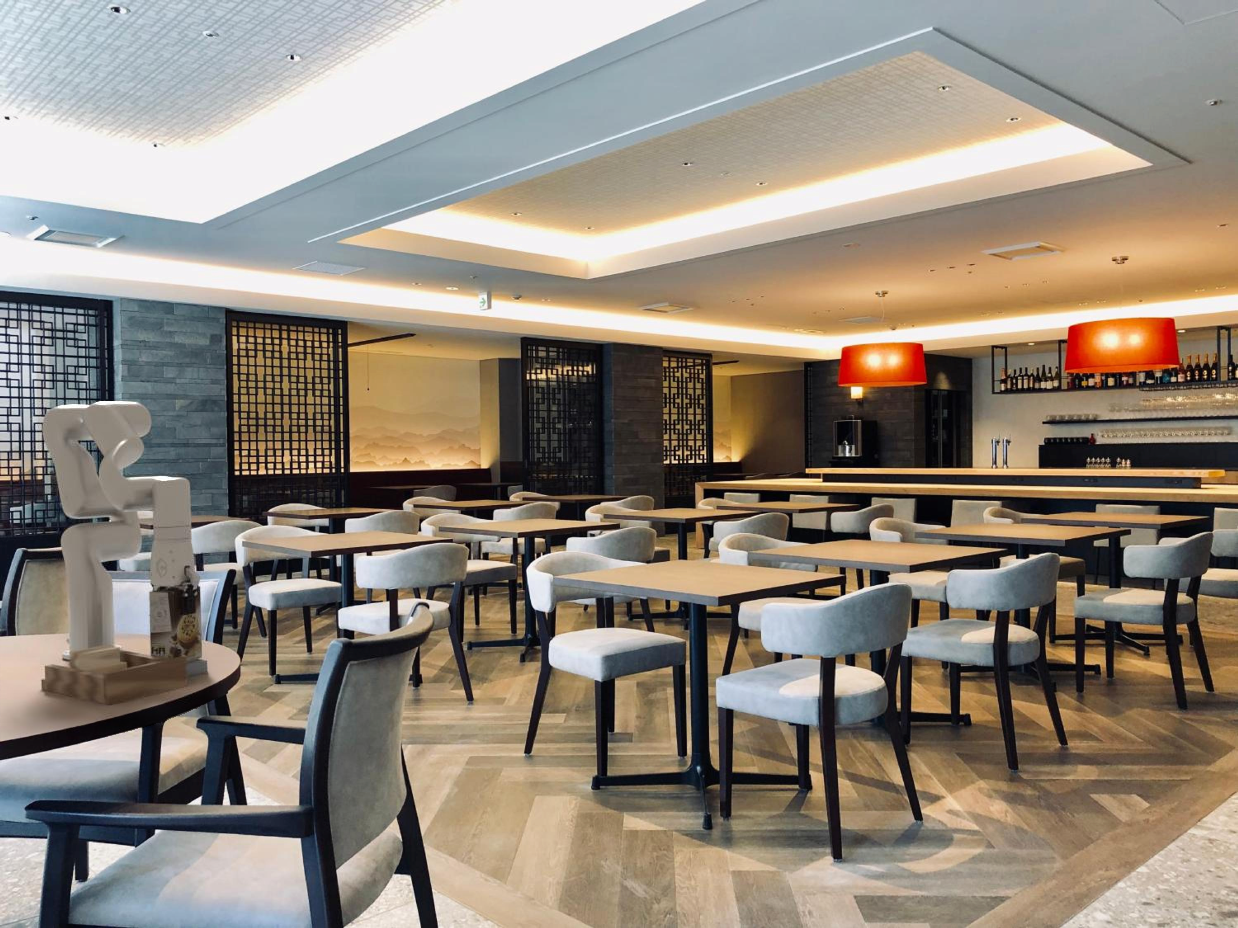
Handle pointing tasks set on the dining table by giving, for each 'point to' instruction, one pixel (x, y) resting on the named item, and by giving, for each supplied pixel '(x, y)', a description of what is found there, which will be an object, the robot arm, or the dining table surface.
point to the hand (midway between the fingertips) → (175, 612)
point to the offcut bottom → (109, 668)
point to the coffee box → (174, 626)
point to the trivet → (196, 667)
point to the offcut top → (94, 657)
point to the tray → (119, 679)
